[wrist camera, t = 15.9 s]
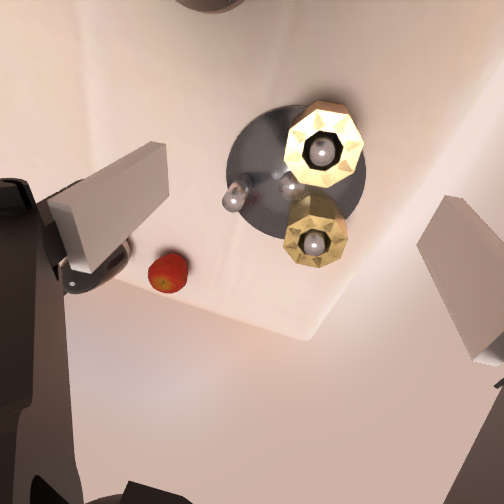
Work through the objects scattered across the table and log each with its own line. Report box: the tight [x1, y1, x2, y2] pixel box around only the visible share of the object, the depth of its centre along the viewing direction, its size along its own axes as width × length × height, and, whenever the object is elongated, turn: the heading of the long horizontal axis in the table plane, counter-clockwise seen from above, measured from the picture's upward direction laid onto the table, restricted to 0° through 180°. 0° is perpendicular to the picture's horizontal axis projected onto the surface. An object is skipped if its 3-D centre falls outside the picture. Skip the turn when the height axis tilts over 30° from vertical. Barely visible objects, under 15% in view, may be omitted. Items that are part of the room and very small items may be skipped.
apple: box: [148, 254, 188, 293], centre depth 59 cm, size 8×8×8 cm
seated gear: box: [284, 100, 364, 188], centre depth 38 cm, size 9×9×7 cm
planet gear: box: [283, 195, 348, 268], centre depth 46 cm, size 9×9×7 cm
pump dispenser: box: [61, 239, 130, 296], centre depth 56 cm, size 10×10×15 cm
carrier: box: [222, 106, 366, 256], centre depth 43 cm, size 22×22×9 cm
